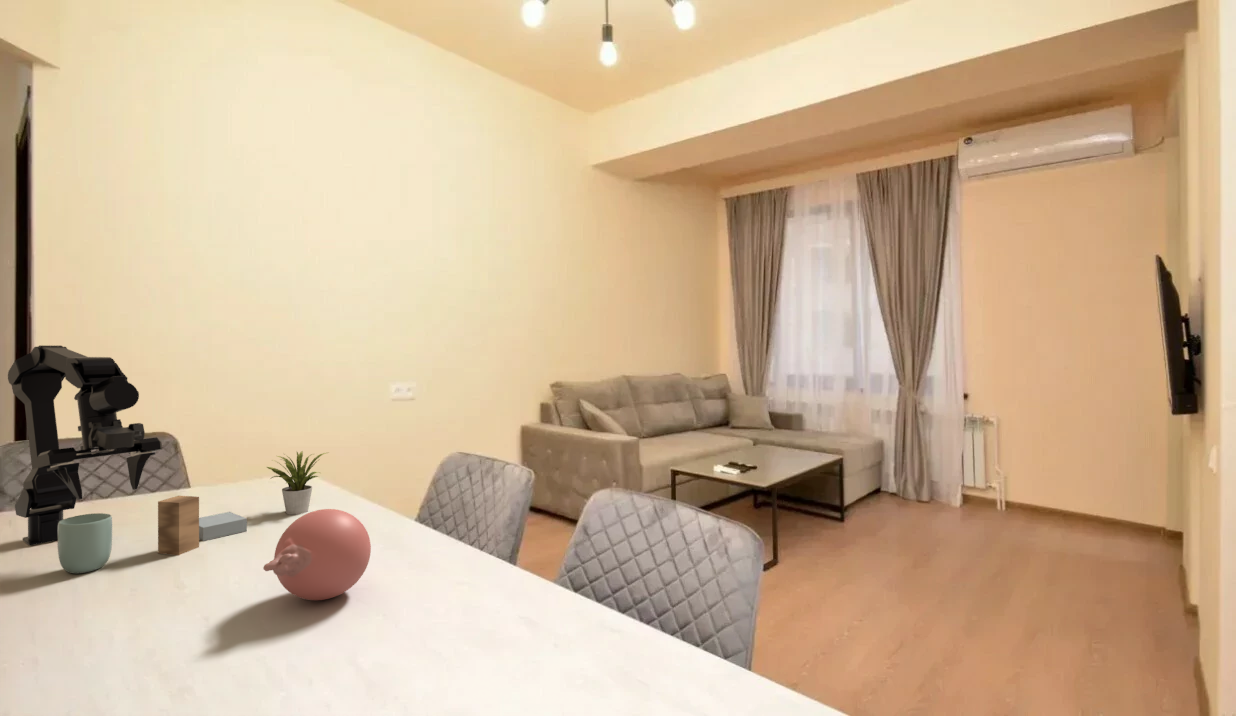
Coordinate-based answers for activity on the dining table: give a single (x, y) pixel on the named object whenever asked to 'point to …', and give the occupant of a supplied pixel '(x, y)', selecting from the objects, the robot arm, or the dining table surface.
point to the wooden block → (178, 525)
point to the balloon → (321, 554)
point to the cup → (84, 542)
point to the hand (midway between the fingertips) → (108, 494)
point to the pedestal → (221, 525)
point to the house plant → (296, 484)
